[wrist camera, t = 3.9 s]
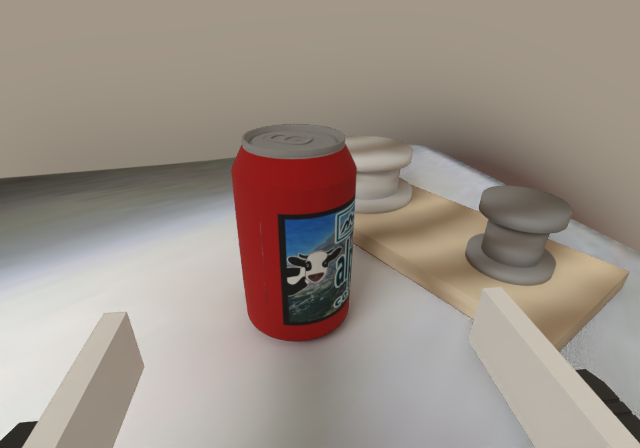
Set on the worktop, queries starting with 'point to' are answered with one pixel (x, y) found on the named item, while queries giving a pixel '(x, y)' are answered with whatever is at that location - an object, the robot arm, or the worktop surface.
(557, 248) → the wooden knob board
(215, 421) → the worktop surface
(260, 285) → the beverage can
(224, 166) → the worktop surface
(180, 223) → the worktop surface
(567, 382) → the robot arm
